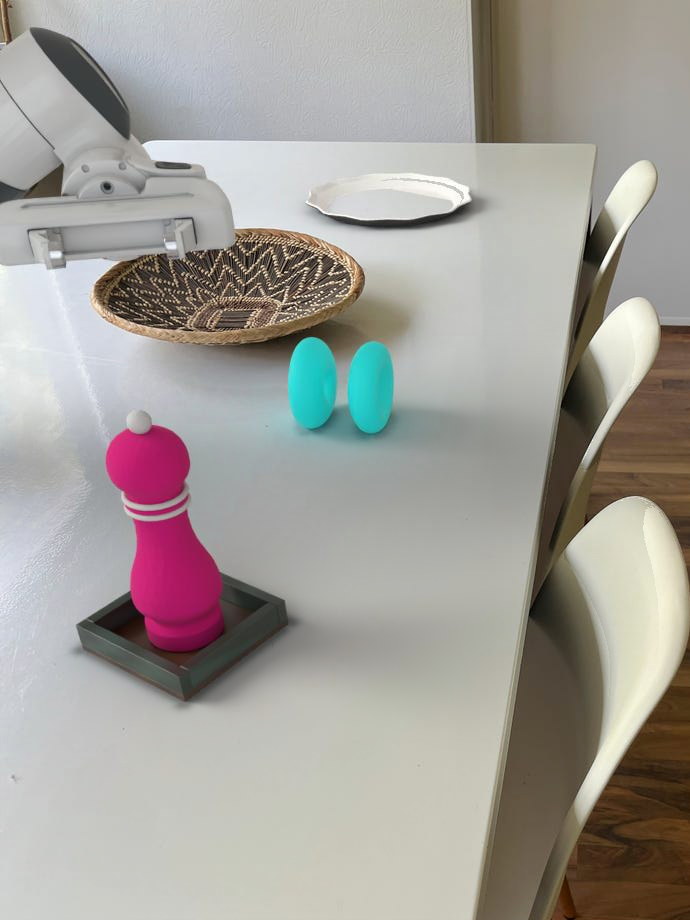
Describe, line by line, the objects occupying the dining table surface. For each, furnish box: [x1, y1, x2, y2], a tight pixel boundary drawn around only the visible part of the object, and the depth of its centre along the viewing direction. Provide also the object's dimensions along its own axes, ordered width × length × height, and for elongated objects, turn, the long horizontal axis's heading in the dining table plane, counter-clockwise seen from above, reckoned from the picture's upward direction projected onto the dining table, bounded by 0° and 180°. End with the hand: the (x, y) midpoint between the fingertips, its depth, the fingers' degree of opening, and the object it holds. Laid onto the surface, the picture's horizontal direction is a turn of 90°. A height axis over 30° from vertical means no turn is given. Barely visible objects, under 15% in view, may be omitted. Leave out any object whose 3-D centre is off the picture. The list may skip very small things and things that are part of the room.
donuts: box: [287, 336, 395, 435], centre depth 114 cm, size 10×10×10 cm
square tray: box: [75, 571, 289, 703], centre depth 86 cm, size 12×12×3 cm
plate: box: [305, 172, 473, 228], centre depth 184 cm, size 29×29×2 cm
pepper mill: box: [105, 409, 224, 652], centre depth 80 cm, size 7×7×20 cm
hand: (115, 254), depth 83 cm, fingers open, 8 cm apart
